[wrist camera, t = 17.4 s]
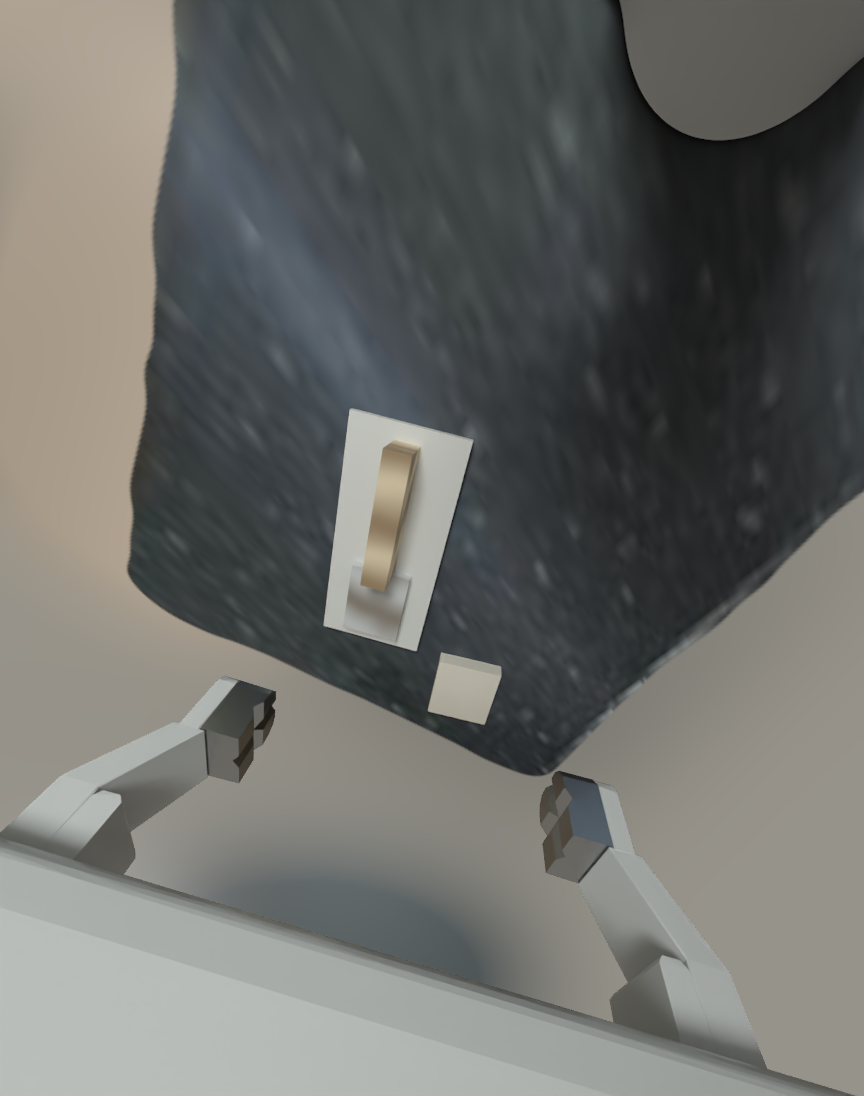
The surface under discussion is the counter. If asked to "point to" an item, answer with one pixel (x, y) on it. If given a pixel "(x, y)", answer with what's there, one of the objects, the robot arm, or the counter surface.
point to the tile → (464, 688)
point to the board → (424, 518)
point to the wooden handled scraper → (384, 549)
